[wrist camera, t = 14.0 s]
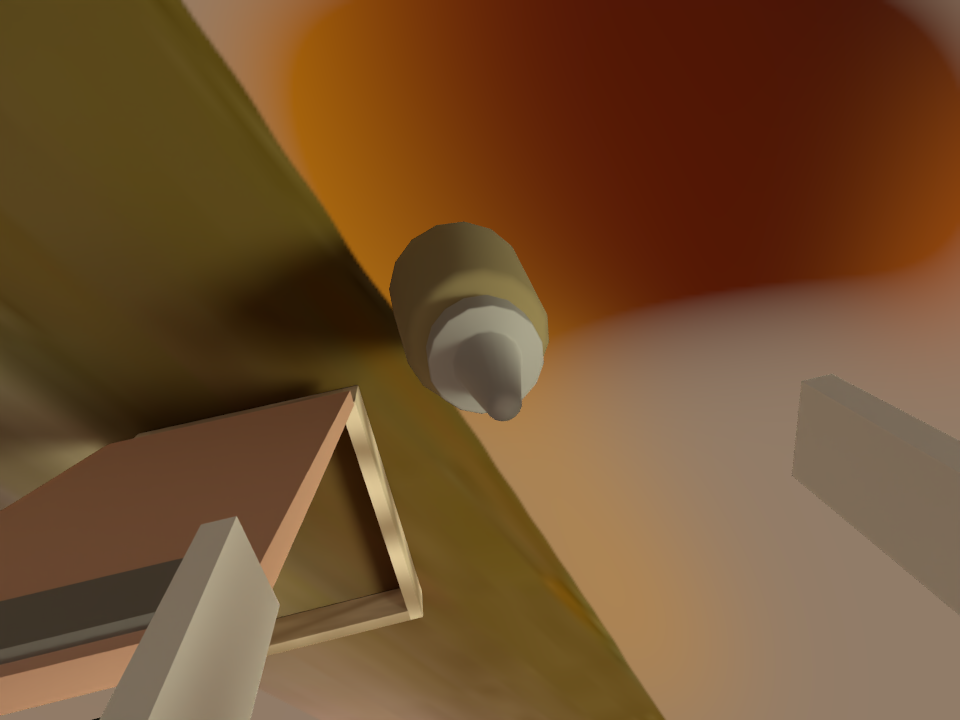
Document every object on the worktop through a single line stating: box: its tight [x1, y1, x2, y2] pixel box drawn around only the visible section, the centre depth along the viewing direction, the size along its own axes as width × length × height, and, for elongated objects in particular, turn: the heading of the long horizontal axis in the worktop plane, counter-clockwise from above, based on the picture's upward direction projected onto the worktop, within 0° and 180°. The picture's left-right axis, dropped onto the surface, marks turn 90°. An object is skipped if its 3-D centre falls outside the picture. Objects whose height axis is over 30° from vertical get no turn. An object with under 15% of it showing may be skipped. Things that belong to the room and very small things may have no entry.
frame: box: [134, 385, 423, 656], centre depth 37 cm, size 20×15×2 cm
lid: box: [0, 391, 354, 716], centre depth 21 cm, size 20×15×1 cm
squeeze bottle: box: [389, 222, 549, 421], centre depth 25 cm, size 8×8×18 cm
